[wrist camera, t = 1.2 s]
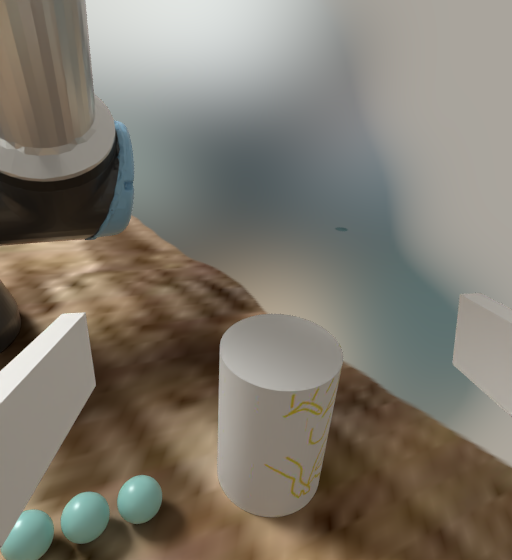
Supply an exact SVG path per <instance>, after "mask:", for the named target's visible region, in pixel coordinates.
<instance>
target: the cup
mask: <svg viewBox="0 0 512 560" xmlns="http://www.w3.org/2000/svg"><path fill="white" fill-rule="evenodd" d="M342 363H343V352H342V349H341V346H340V344H339V343H338V341H337V340H336V338H335V337H334V336H333V335H332V334H331V333H330V332H328V331H327V330H326V329H324V328H323V327H321V326H320V325H318V324H316V323H314V322H311V321H309V320H306V319H303V318H300V317H296V316H291V315H284V314H263V315H257V316H252V317H249V318H246V319H243V320H241V321H239V322H237V323H235V324H234V325H232V326H231V327H230V328H229V329H228V330H227V331H226V332H225V333H224V335H223V337H222V339H221V342H220V360H219V409H218V459H217V473H218V479H219V482H220V485H221V487H222V489H223V491H224V493H225V494H226V496H227V497H228V498H229V499H230V500H231V501H232V502H233V503H234V504H235V505H237V506H238V507H239V508H241V509H243V510H244V511H246V512H249V513H251V514H254V515H258V516H262V517H281V516H286V515H289V514H292V513H294V512H296V511H298V510H300V509H301V508H303V507H304V506H305V505H306V504H307V503H308V502H309V501H310V500H311V499H312V497H313V496H314V494H315V492H316V490H317V487H318V484H319V479H320V474H321V469H322V464H323V459H324V454H325V448H326V443H327V438H328V433H329V428H330V423H331V418H332V413H333V408H334V403H335V398H336V393H337V388H338V383H339V378H340V373H341V368H342Z"/></svg>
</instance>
